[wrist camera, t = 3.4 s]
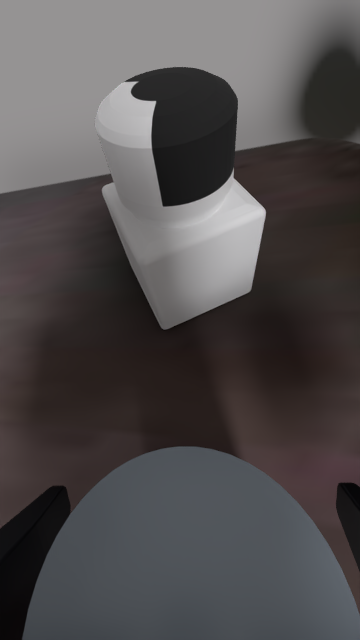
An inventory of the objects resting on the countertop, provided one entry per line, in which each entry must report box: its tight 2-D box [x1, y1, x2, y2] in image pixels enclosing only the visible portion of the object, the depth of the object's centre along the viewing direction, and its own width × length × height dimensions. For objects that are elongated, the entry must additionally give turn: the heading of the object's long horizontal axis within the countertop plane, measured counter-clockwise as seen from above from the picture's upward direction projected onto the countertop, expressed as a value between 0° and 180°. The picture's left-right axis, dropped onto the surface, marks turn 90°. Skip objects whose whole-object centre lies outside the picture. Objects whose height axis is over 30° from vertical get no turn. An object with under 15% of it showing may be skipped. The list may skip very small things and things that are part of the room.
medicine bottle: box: [95, 67, 266, 330], centre depth 16 cm, size 7×7×12 cm
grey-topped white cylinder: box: [22, 446, 360, 640], centre depth 9 cm, size 5×5×11 cm
